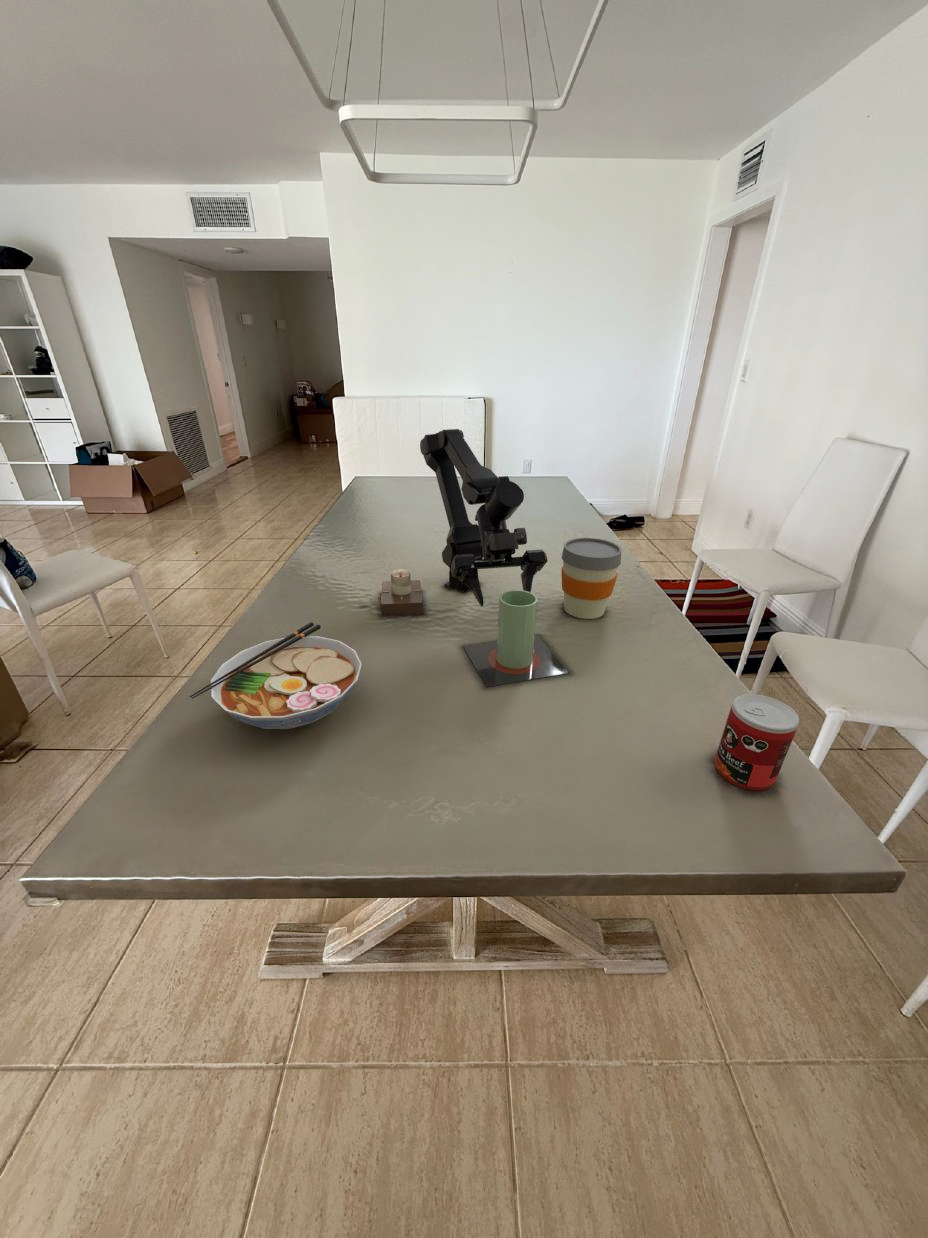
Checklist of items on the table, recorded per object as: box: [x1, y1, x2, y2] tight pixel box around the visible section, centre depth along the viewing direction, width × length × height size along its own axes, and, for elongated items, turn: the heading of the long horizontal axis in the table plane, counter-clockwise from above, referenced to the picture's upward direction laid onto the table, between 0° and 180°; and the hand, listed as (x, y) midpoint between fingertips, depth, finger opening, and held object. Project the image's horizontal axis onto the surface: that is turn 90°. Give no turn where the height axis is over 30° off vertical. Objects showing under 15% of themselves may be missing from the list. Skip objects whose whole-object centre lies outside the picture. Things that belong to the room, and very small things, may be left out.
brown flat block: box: [380, 579, 424, 617], centre depth 119 cm, size 12×9×3 cm
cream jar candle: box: [390, 569, 412, 595], centre depth 117 cm, size 4×4×5 cm
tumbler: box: [496, 589, 539, 669], centre depth 96 cm, size 7×7×13 cm
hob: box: [463, 635, 570, 688], centre depth 99 cm, size 14×16×1 cm
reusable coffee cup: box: [560, 537, 622, 620], centre depth 115 cm, size 13×13×15 cm
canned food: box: [714, 693, 800, 791], centre depth 72 cm, size 8×8×11 cm
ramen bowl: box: [189, 621, 363, 730], centre depth 84 cm, size 25×23×8 cm
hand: (505, 603), depth 102 cm, fingers open, 9 cm apart
